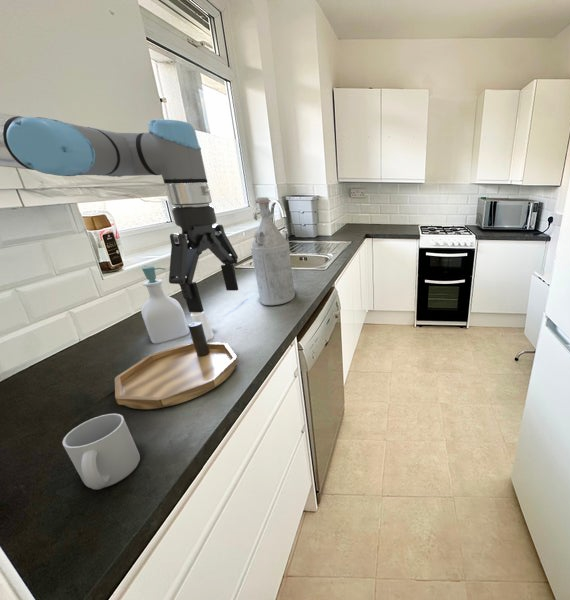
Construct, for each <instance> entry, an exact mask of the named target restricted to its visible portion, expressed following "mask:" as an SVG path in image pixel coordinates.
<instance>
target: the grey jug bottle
mask: <svg viewBox="0 0 570 600" xmlns="http://www.w3.org/2000/svg"><path fill="white" fill-rule="evenodd" d="M255 198H256V199H255V200H254V201H255V202H254V207H256V204H258V207H257V208H256V209H255V211H254V212H253V213H252V216H253V219H254V220H255V221H258V215H260V217H261V220H260V223H259V226H258V228H257V231H255V233H254V237H253V240H252V243H251V246H250V247H249V248H250V251H251V256H252V263H253V268H254V274H255V279H256V284H257V291H258V295H259V300H260V303H261V305H264V306H279V305H282V304H286V303H289V302H292V300H294V299H295V296H296V294H295V285H294V276H293V268H292V260H291V251H290V243H289V242H288V241H287V239H286V238H285V237H284V235H283V234H282V232H281V231H280V230H279V228H278V227H277V226H276V224H275V223H274V222H273V220H272V219H273V217H274V213H272V212H271V210H270V203H271V202H272V201H271V200H270V199H269V197H268V196H255ZM258 209H259V212H257V210H258Z"/></svg>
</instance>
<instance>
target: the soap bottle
mask: <svg viewBox="0 0 570 600" xmlns="http://www.w3.org/2000/svg"><path fill="white" fill-rule="evenodd" d="M141 270H142V272H143V274H144V276H145V278H146V281H144V282H142V286H143V287H146V288H147V291H148V294H149V297H148V299H147V301H145V302H144V303H143V305H142V307H141V310H140V313H141V316H142V319H143V323H144V325H145V328H146V330H147V334H148V337H149V339H150V341H151V343H153V344H162V343H165V342H169V341H171V340H176V339H179V338H182V337H185V336H187V335H189V334H190V330H189V327H188V325H189V324H188V322H187V317H186V315H185V311H184V309H183V308H182V305H181V303H180V302H179V301H178V300H177V299H176V298H173V297H171V296H168V295H166V294H165V293H164V289H163V287H162V283H163V282H164V281H163V279H157V275H156V270H164V271H166V270H167V269H166V268H163V267H155V265H153V266H152V265H149V266H143V267H141Z"/></svg>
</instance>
